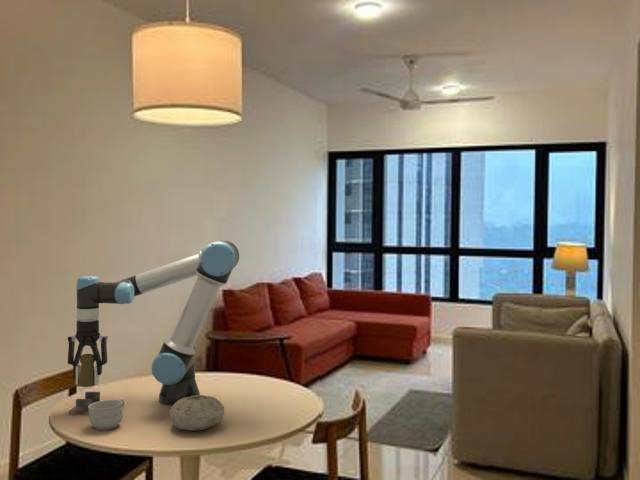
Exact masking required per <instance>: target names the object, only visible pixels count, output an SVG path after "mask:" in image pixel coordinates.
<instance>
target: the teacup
mask: <svg viewBox="0 0 640 480" xmlns="http://www.w3.org/2000/svg"><path fill="white" fill-rule="evenodd" d="M124 407H125V401H124V399H123V398H117V399H103V400H100V401H98V402H94V403H92V404H90V405H89V406H88V408H89V414H88V417H89V419H88V420H89V423H90V424H89V425H91V426H92V427H93V428H94V429H96V430H99V431H108V430H111V429H114V428H116V427H118V426H119V424H120V423H121V422H122V421H123V416H124V415H123V414H124V413H123V410H124V409H123V408H124Z"/></svg>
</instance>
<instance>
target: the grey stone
mask: <svg viewBox="0 0 640 480" xmlns="http://www.w3.org/2000/svg"><path fill="white" fill-rule="evenodd" d="M170 406H171V407H170V412H169V418H170V420H171V421H170V422H171V423H172V424H173V425H174V426H175V427H176V428H177V429H179V430H184V431H193V432H195V431H201V430H202V431H203V430H207V429H209V428H211V427H213V426H215V425H217V424H218V423H219V422H220V421H221V420H222V419H223V417H224V415H225V406H224V405H223V404H222V402H221V401H220V400H218V399H217V398H216V397H214V396H210V395H201V394H200V395H195V396H194V395H193V396H190V397H186V398H182V399H180V400H178V401H177V402H176V403H175V404H174V405H170Z"/></svg>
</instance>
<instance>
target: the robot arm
mask: <svg viewBox="0 0 640 480" xmlns="http://www.w3.org/2000/svg"><path fill="white" fill-rule="evenodd" d="M239 252H240V251H239V250H238V248H237V245H235V244H234V243H233V242H231V241H229V240H216V241H213V242H210V243H209V244H207V245H206V246H205V248H203V249H201V250H200V251H199V253H197V254H194V255H191V256H188V257H185V258H182V259H180V260H177V261H174V262H171V263H170V262H169V263H168V264H165V265H162V266H159V267H156V268H153V269H150V270H148V271H144V272H142V273H138V274H136V275H132V276H129V277H126V278H124V279H121V280H118V281H115V282H114V281H113V282H101V281H100V278H99V276H98V275H96V276H95V275H85V276H78V278H77V281H76V290H75V291H76V333H75V334H74V335H69V336H68V337H67V341H68V352H67V364H68V365H71V366H72V374H73V376H75V385H77V386H79V379H80V372H81V365H82V364H80V357H81V356H82V355H83V350H84V347H86V346H87V347H90V349H91V350H92V354H93V355H94V358H95V363H96V365H94V370H95V386H97V385H99V383H100V376H101V375H102V373H103V366H104V365H106V364H108V350H107V349H108V347H107V341H108V336H107V335H106V336H105V335H101V334H100V320H99V318H100V304H110V305H111V304H113V305H115V304H116V305H117V304H118V305H127V304H131V303H132V302H133V300H134V299H135V297H137V296H141V295H143V294H146V293H149V292H152V291H154V290H158V289H161V288H163V287H164V288H165V287H168V286H169V285H172V284H176V283H178V282H182V281H185V280H188V279H191V278H193V277H197V278H196V280H195V282H194V284H193V287H192V289H191V292H190V293H189V296H188V299H186V300H187V301H186V303H185V304H184V307H183V309H182V311H181V314H180V316H179V319H178V321H177V323H176V325H175V327H174V329H173V331H172V334H171V336H170V337H167V338H166V339H165V340H164V341H163V344H162V346H160V347H161V348H160V350H159V352H158V354H157V356H155V358H154V359H153V360H152V364H151V372H152V375H153V377H154V378H155V380H156V381H157V382H159V383H161V388H160V391H159V395H158V401H159V403H160V404H163V405H166V406H167V405H168V406H169V405H170V406H173V405H174V404H175V403H176V402H177V401H178V400H180V399H182V398H186V397H190V396H193V395H194V396H195V395H201V393H200V389H199V387H198V383H197V380H196V341H197V339H198V337H199V334H200V332H201V330H202V328H203V326H204V323H205V321H206V319H207V317H208V315H209V312H210V310H211V307H212V305H213V303H214V302H215V299H216V296H217V294H218V292H219V289H220V288H221V287H223V286H224V285H226V284H227V282H228V281H229V279H230V275H231V274H232V272H233V269H234V268H235V267H236V266H237V265H238V263H239V260H240V253H239ZM76 340H77V342H78V346H77V350H76V353H75V344H76V342H75V341H76ZM98 341H99V342H100V352H101V353H100V352H99V349H98V348H99V347H98V343H97V342H98Z"/></svg>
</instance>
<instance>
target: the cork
mask: <svg viewBox="0 0 640 480" xmlns="http://www.w3.org/2000/svg"><path fill="white" fill-rule="evenodd" d="M79 363H80V365H81V372H80V379H79V384H78V387H82V388H90V387H94V386H96V385H95V363H96V361H95V358H94V355H93V353H84V354H83V353H82V354H81V357H80V360H79Z"/></svg>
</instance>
